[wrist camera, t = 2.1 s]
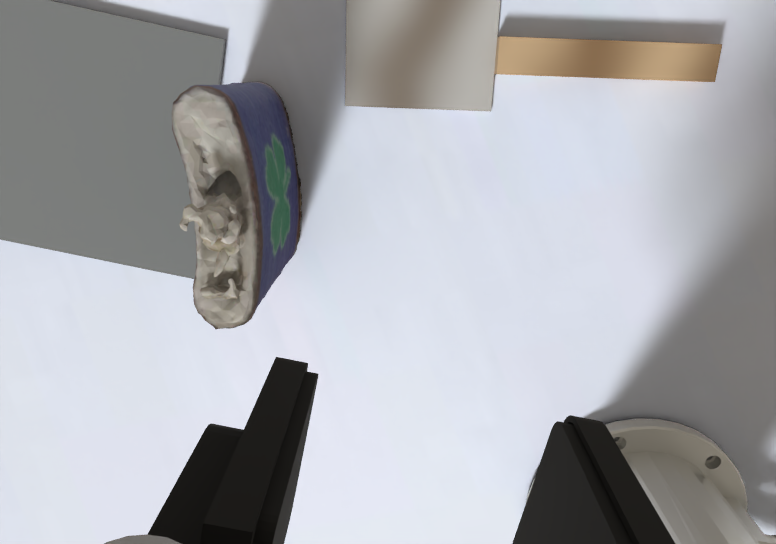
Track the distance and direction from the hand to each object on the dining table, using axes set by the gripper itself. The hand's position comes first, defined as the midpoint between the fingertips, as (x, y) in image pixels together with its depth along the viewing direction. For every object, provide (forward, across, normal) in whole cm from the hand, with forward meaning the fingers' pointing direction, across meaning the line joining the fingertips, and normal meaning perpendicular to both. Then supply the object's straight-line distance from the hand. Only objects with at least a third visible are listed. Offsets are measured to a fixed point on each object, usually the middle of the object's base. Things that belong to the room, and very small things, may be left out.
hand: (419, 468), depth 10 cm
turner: (+21, -3, -8) cm, 23 cm away
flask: (+22, +7, 0) cm, 23 cm away
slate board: (+21, +18, 0) cm, 28 cm away
